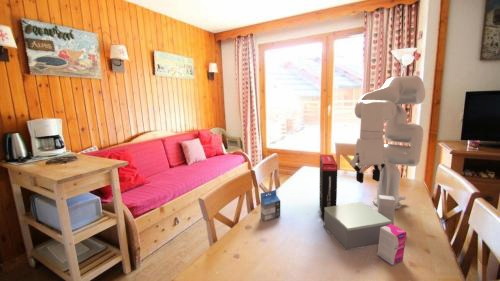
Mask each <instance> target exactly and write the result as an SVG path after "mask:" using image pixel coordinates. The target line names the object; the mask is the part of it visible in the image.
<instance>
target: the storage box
mask: <svg viewBox="0 0 500 281" xmlns="http://www.w3.org/2000/svg"><path fill="white" fill-rule="evenodd" d="M387 225H389V224H385V225H380V226H374V227H368V228H362V229H357V230H351V231H348V230H346V229H345V228H344V227H343V226H342V225H341V224H340V223H339V222H338V221H336V220H335V219H334V218H333V217H332V216H331V215H330V214H329V213H328V212H327V211H325V212H324V220H323V228H324V229H325V230H326V231H327V232H328V233H329V234H330V235H331V236H332V237H333V238H334V239H335V241H336V242H338V244H340V245H341V247H342V249H344V250H345V251H346V250H352V249H359V248H360V249H361V248H366V247H371V246H377V245H379V236H380V228H381V227H383V226H387Z"/></svg>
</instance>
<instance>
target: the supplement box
mask: <svg viewBox="0 0 500 281" xmlns="http://www.w3.org/2000/svg"><path fill="white" fill-rule="evenodd" d="M406 239H407V231H406V230H404V229H402V228H400V227H398V226H396V225H395V224H394V225H393V224H390V225H387V226H383V227H381V228H380V236H379V244H378V246H377V247H378V248H377V257H378V258H379V259H380V260H382V261H383V262H384V263H386V264H388V265H389V266H391V267H392V266H395V265H396V264H398V263H402V262H403V260H404V254H405V246H406Z"/></svg>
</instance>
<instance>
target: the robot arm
mask: <svg viewBox="0 0 500 281" xmlns="http://www.w3.org/2000/svg"><path fill="white" fill-rule="evenodd" d="M425 98H426V89H425V85H424V81H423V79H422V78H421V77H420V76H418V75H401V76H392V77H390V78H388V79H387V80H386V81H385V82H384V83H383V85H382V86H381V87H380V88H378V89H375V90H373V91H370V92H366V93H365V94H363V95H362V96H361V97H360V98H359V99H358V101H357V102H356V103H355V107H354V115H355V116H356V118H358V119H360V130H359V137H358V138H357V140H356V143H355V148H354V152H353V153H354V154H353V159H351V161H350V162H349V164H350V165H351V167H352V169H354V170H355V171H356V177H355V178H356V181H357V182H358V183H360V184H363V183H364V178H365V177H364V175H365V174H364V169H365V167H366V166H367V167H368V166H373V168H374V169H372V176H371V177H372V180H374V181H375V182H377V187H376V188H377V189H376V196H375V197H374V198H373V199H372V203H373V204H374V205H375V206H377V207H378V196H379V195H384V196H393V197H394V199H395V200H396V201H395V210H399V209H401V207H402V204H401V201H405V200H406V196H404V195H403V196H400V195H399V191H400V183H401V182H400V181H401V171H400V169H399V168H398V165H399V166H405V167H416V166H418V165H419V164H420V163H419V162H420V161H421V156H422V155H421V152H422V148H423V147H422V146H423V141H424V139H423V138H424V129H423V127H422V126H421V125H420V124H416V123H407V120H408V113H407V111H406V109H405V108H404V107H403V106H402V105H419V104H422V103H423V102H424V101H425ZM385 121H386V124H385ZM384 126H385V129H384ZM383 136H384V137H383ZM384 138H385V139H384ZM385 140H386V141H387V142H393V143H398V144H393V143H385ZM400 143H401V145H400ZM402 144H408V145H402Z"/></svg>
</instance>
